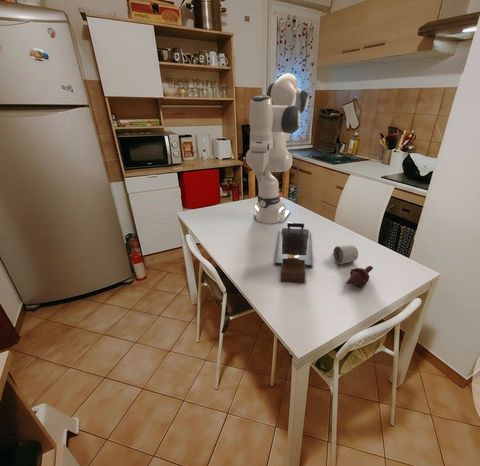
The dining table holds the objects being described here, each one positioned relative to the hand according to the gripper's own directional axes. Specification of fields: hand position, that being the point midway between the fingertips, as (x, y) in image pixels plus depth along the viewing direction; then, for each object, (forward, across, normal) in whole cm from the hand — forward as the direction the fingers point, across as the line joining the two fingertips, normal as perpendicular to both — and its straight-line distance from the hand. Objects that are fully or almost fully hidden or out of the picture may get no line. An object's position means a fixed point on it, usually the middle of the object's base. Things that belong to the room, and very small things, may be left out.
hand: (261, 178), depth 107 cm
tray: (+33, -2, +15) cm, 36 cm away
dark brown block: (+33, +19, +15) cm, 41 cm away
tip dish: (+21, +14, +15) cm, 29 cm away
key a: (+32, +5, +14) cm, 35 cm away
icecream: (+33, +22, +39) cm, 56 cm away
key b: (+32, +5, +14) cm, 36 cm away
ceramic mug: (+33, +6, +36) cm, 49 cm away
